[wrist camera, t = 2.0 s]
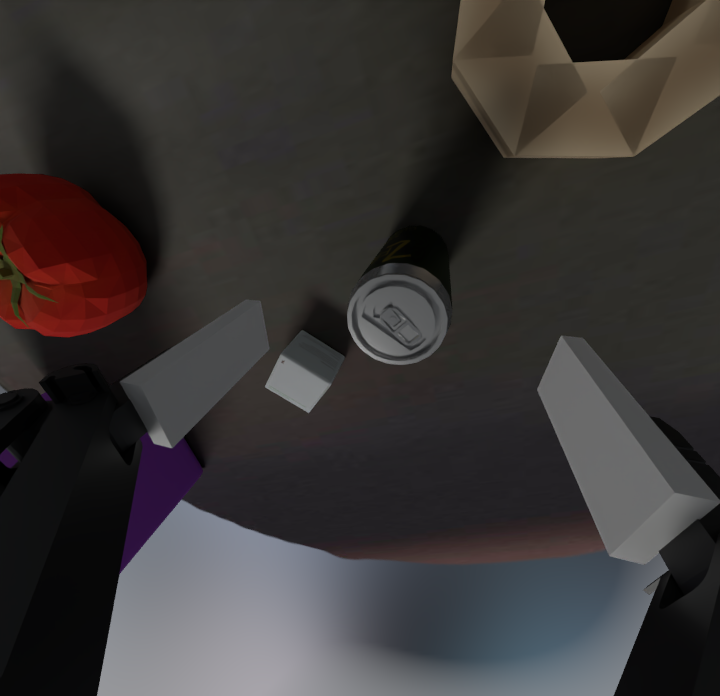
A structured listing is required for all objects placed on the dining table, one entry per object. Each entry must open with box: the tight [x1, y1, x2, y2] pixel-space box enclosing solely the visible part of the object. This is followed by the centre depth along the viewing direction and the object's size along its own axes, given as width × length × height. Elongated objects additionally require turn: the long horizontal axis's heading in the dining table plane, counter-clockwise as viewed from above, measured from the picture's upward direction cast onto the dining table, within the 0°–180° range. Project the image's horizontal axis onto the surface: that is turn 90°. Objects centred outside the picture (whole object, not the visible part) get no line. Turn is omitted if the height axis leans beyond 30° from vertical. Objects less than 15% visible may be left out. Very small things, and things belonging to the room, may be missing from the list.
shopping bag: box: [0, 393, 203, 574], centre depth 39 cm, size 28×22×30 cm
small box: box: [265, 330, 345, 413], centre depth 30 cm, size 6×6×5 cm
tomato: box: [0, 174, 147, 337], centre depth 26 cm, size 14×13×10 cm
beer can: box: [347, 226, 452, 365], centre depth 19 cm, size 5×5×12 cm
